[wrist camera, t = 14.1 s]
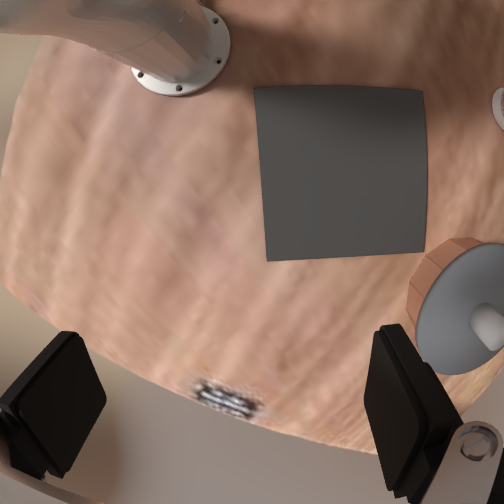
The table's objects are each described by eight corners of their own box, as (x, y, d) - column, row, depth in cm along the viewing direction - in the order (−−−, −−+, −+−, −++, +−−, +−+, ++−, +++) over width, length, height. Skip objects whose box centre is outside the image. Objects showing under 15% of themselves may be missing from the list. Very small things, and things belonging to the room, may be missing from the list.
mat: (253, 88, 33) (253, 88, 33) (421, 91, 32) (422, 91, 31) (266, 260, 40) (266, 261, 40) (422, 251, 38) (423, 252, 38)
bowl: (413, 240, 38) (437, 259, 31) (499, 236, 37) (526, 251, 30) (400, 342, 43) (415, 370, 36) (480, 328, 42) (500, 350, 35)
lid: (426, 247, 31) (453, 267, 25) (534, 239, 30) (562, 254, 24) (403, 380, 37) (418, 411, 31) (504, 355, 36) (523, 378, 30)
